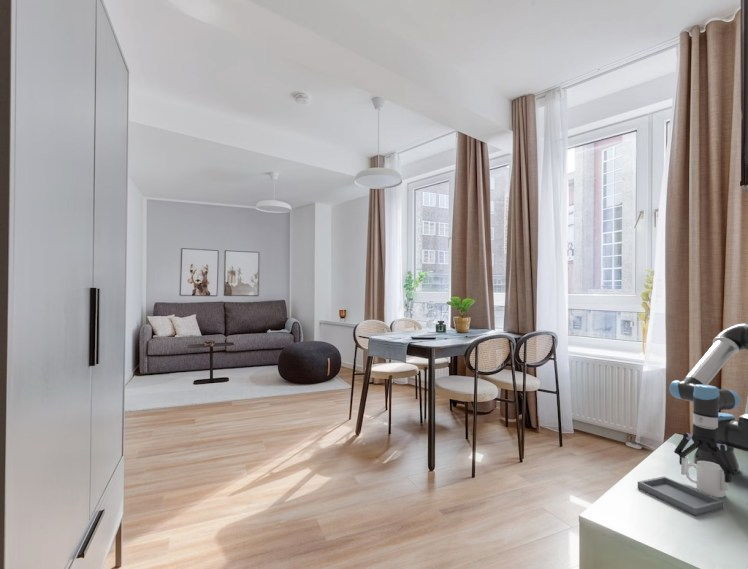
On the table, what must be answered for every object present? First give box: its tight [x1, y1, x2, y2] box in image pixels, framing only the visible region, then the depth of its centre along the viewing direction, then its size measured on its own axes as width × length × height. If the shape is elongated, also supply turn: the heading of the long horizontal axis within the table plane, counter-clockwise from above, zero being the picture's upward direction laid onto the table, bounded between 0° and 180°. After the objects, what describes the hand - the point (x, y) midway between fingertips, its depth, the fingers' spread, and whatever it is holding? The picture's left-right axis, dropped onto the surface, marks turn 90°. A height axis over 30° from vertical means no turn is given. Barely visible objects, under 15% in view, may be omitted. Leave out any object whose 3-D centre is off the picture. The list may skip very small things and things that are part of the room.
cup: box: [685, 461, 726, 498], centre depth 152 cm, size 8×12×10 cm
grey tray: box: [637, 476, 725, 517], centre depth 145 cm, size 15×20×2 cm
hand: (703, 482), depth 152 cm, fingers open, 13 cm apart
